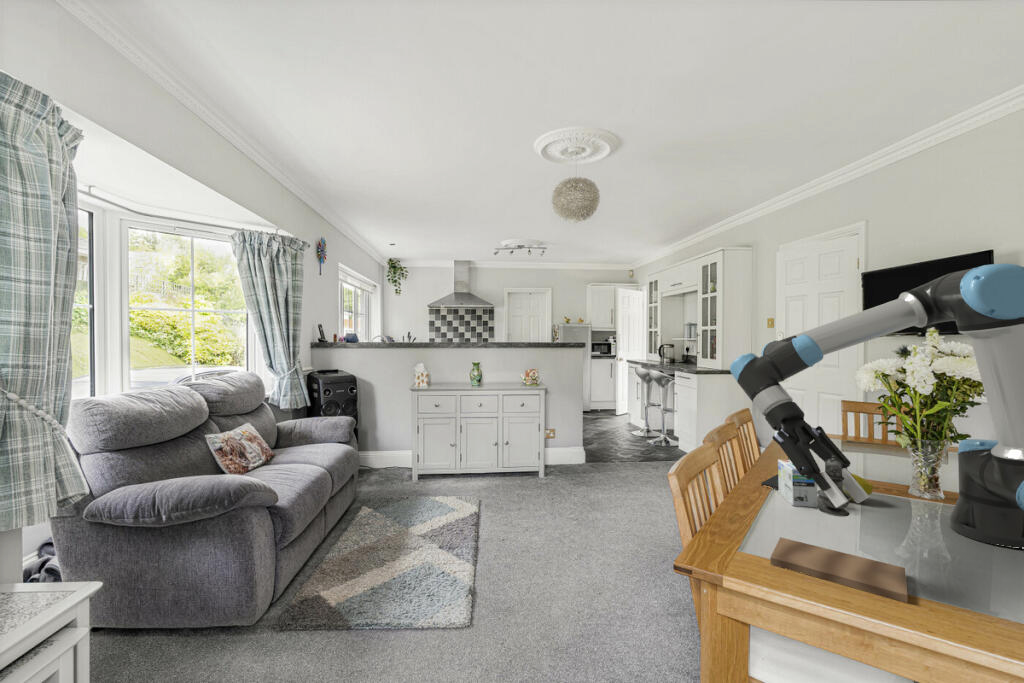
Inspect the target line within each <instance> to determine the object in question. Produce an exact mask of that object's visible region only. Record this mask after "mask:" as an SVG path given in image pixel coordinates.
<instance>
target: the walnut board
mask: <svg viewBox="0 0 1024 683" xmlns="http://www.w3.org/2000/svg"><path fill="white" fill-rule="evenodd" d="M771 564H772V566H775V567H778V566H779V568H782V567H783V568H782V569H785V568H786V569H787V570H789V569H791V570H790V571H792V570H794V571H793V572H796V571H798V572H797V573H800V572H802V573H801V574H803V573H804V575H807V574H808V575H807V576H810V577H814V578H818V579H821V580H825V581H828V582H831V583H835V584H838V585H843V586H845V587H849V588H853V589H855V590H856V589H857V590H860V591H863V592H865V593H871V594H873V595H877V596H880V597H883V598H884V597H885V598H887V599H891V600H895V601H899V602H901V601H902V603H905V602H906V604H908V598H909V597H908V588H907V586H908V585H907V577H906V576H907V575H906V568H905V567H904V566H903V567H902V566H899V565H895V564H891V563H886V562H883V561H878V560H874V559H871V558H867V557H863V556H858V555H855V554H850V553H846V552H842V551H838V550H833V549H830V548H826V547H822V546H817V545H813V544H810V543H805V542H801V541H797V540H793V539H790V538H785V537H780V536H779V539H778V541H777V543H776V545H775V547H774V549H773V551H772V553H771V555H770V565H771Z"/></svg>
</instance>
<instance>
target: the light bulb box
mask: <svg viewBox="0 0 1024 683" xmlns="http://www.w3.org/2000/svg"><path fill="white" fill-rule="evenodd" d="M777 466H778V468H777V469H778V471H777V474H778V481H779V491H778V494H779V495H780V496H781V497H782V498H784V499H785V500H786V501H787V502H788V504H790V505H791V506H792V507H806V506H807V507H809V508H819V506H818V504H819V503H818V494H817V491H818V484H817V483H816V482H815V481H814V480H813V478H811V479H807V478H806V477H805V476H807V475H805V476H802V475H800V473H799V472H798V471H797V469H796V468H795V466H794V465H793V463H792V462H791V461H790V459H777ZM802 468H804V467H802Z"/></svg>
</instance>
